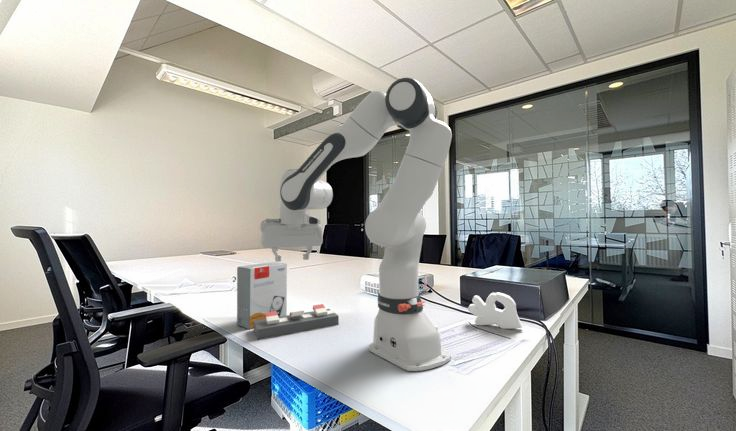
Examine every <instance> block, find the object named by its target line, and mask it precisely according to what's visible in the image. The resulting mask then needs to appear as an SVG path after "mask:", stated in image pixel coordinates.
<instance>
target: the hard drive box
mask: <svg viewBox="0 0 736 431" xmlns="http://www.w3.org/2000/svg"><path fill="white" fill-rule="evenodd" d="M287 267H288V263H285V262H280V261H279V262H276V261H272V262H264V263H256V264H248V265H240V266H237V268H236V272H237V273H236V297H237V298H236V325H237V326H240V327H242V328H245V329H247V330H250V329H254V321H255V320H262V319H266V318H265V313H266V312H273V311H277V314H278V317H281V316H287V311H288V310H287V306H288V305H287V304H288V303H287V302H288V301H287V300H288V298H287V297H288V290H287V286H288V284H287V282H288V279H287V278H288V271H287V270H288V268H287Z"/></svg>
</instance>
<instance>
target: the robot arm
mask: <svg viewBox="0 0 736 431" xmlns="http://www.w3.org/2000/svg"><path fill="white" fill-rule="evenodd" d="M433 100H434V99H433V97H432V95H431V94H430V92H429V91H428V89H426V87H425V86H424V85H423V84H422V82H419V81H418V80H417V79H414V78H411V77H401V78H398V79H397V80H394V82H392V83H391V84H390V86H388V89H387V90H386V92H384V91H380V90H373V91H370V93H368V94H367V95H366V96H365V97H364V98H363V99H362V100H361V101H360V102H359V104H357V106H356V107H355V108H354V109H353V111H352V112H351V113H350V114H349V116H348V117H347V119H346V120H345V121H344V122H343V124H342V125H340V127H338V129H337V130H336V131H334V132H333V133H331V134H330V135H328V136H327V137H326V138H325V139H324V140H322V142H321V143H320V144H319V145H318V146H317V147H316V149H315V150H314V151H313V152H312V153H311V154H310V155H309V156H308V157H307V159H306V160H305V161H304V162H303V163H302V165H301V166H299V168H295V169H294V168H293V169H289V170H286V171H284V172H283V173H282V176H281V179H280V183H279V184H280V186H279V199H280V206H279V218H266V219H264V220H262V221H261V222H260V231H261V236H260V246H261V247H262V248H264V249H271V251H272V254H273V255H274V262H279V263H280V262H281V261H282V256H281V255H279V254H278V251H279V250H278V249H279V248H298V247H303V248H305V247H306V248H305V249H306V252H305V253H302V257H303V260H304V261H305V260H306V261H309V259H310V254H311V253H312V251H313V247H321V246H322V244H323V241H324V239H323V237H324V236H323V228H322V227H321V225H320V224H321V221H322V220H321V219H320V218H319V217H316V216H313V215H311V214H309V213H308V210H311V211H312V210H313V211H314V210H323V209H326V208H328V207H329V206H330V205H331V203H332V201H333V198H334V192H333V188H332V186H331V185H330V183H329V182H327V181H325V180H322V179H321V178H322V176H324V175H325V174H326V172H327V171H328V170H329V169H330V168H331V166H333V165H334V164H336V163H337V162H340V161H342V160H346V159H352V158H360V157H363V156H365V155H366V154H367V153H369V152H370V151H372V150H373V149H374V147H375V146H376V145H377V144H378V142H379V141H380V140H381V138H382V137H383V136H384V134H385V133H386V132H387V131H388V130H389V129H390V128H391V127H393V126H396V127H397V128H398V129H402V130H404V131H406V132H409V141H408V145H407V147H406V149H405V152H404V154H403V157H402V160H401V163H400V165H399V168H398V170H397V173H396V175H395V178H394V180H393V181H392V184H391V185H390V187H389V189H388V190H387V191H386V193H385V195H384V197H383V198H382V199H381V201H380V203H379V204H378V206H377V207H375V209H374V210H373V211H371V212H370V213H369V214H368V216H367V217H366V219H365V222H364V230H365V234H366V237H367V238H368V239H369V241H370V242H371V243H373V244H375V245H377V246H379V247H385V249H384V253H383V257H382V260H381V262H380V264H379V268H378V273H379V274H378V278H379V279H378V281H379V283H378V284H379V286H378V287H379V289H378V290H379V292H378V294H377V307H378V311H377V314H376V316H375V317H374V323H373V335H372V336H373V338H372V343H371V344H370V345H369V352H370V353H373V354H374V355H376V356H378V357H380V358H382V359H384V360H386V361H388V362H390V363H391V364H394V365H395V366H397V367H398V368H401V369H403V370H405V371H408V372H418V371H419V372H421V371H426V370H430V369H433V368H437V367H441V366H443V365H446V364H447V363H449V362H450V360H451V359H452V355H451V353H450V352H449V351H447V350H446V349H445V348H444V347H442V342H441V336H440V333H439V331H438V330H439V329H438V327H437V325H435V324H433V323H432V321H431V320H430V319H429V317H428V316H427V314H426V313H425V312H424V310H423V309H424V307H423V306H425V301H423V300H422V298H421V294H419V266H420V258H421V253H422V245H423V237H424V234H425V232H426V228H427V223H426V219H425V217H424V215H422V213H420V212H421V210H422V209H423V207H424V205H425V204H426V202H427V201H428V200H429V199H430V198H431V197H432V195H433V193H434V192H435V189H436V185H437V183H438V181H439V178H440V176H441V174H442V171H443V168H444V166H445V163H446V161H447V158H448V154H449V151H450V147H451V143H452V138H453V133H452V129H451V127H449V125H448V124H447V123H445V122H444V121H442V120H438V119H437V116H438V109H437V106H436V103H435V102H434V101H433Z"/></svg>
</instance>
